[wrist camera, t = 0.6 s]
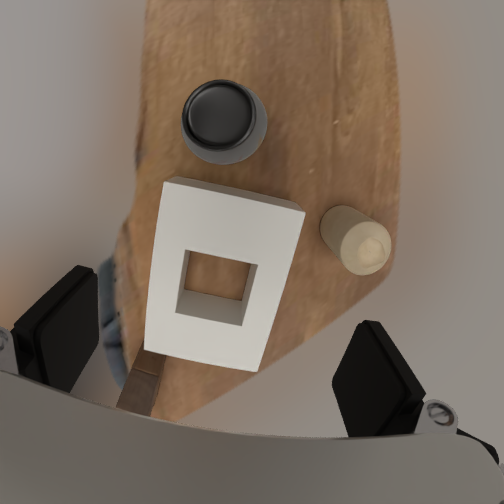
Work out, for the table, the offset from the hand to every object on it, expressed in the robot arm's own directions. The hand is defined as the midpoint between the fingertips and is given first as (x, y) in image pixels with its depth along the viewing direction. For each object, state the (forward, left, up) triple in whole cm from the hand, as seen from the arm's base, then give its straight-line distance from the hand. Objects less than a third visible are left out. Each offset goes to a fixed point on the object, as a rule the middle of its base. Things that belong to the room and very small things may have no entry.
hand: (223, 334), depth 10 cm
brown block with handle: (+27, -7, -27) cm, 38 cm away
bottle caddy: (+9, 0, -27) cm, 28 cm away
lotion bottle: (-7, -2, -27) cm, 28 cm away
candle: (0, +13, -27) cm, 30 cm away
